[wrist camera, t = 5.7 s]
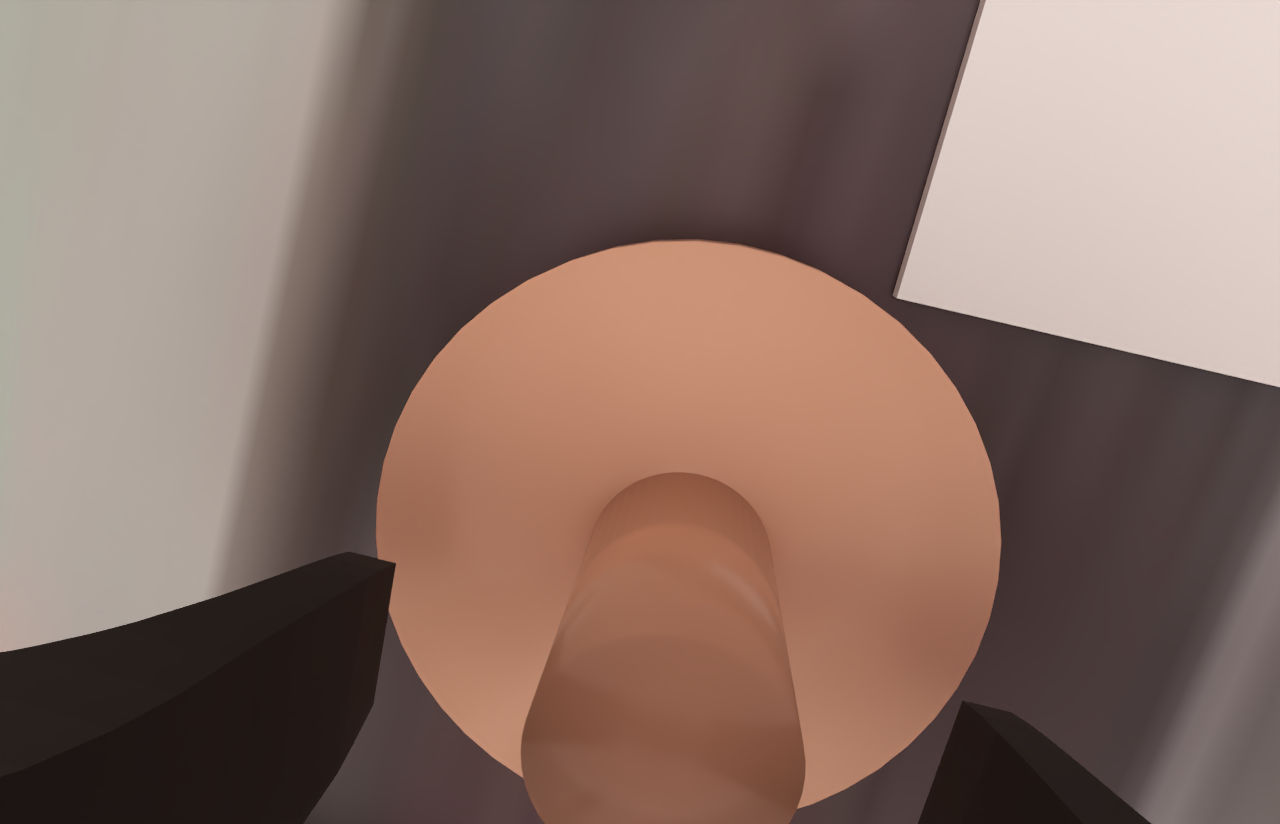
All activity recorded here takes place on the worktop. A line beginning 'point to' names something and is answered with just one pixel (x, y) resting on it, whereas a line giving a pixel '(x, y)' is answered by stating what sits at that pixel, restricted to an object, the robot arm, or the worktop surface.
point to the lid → (688, 535)
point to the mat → (1113, 180)
